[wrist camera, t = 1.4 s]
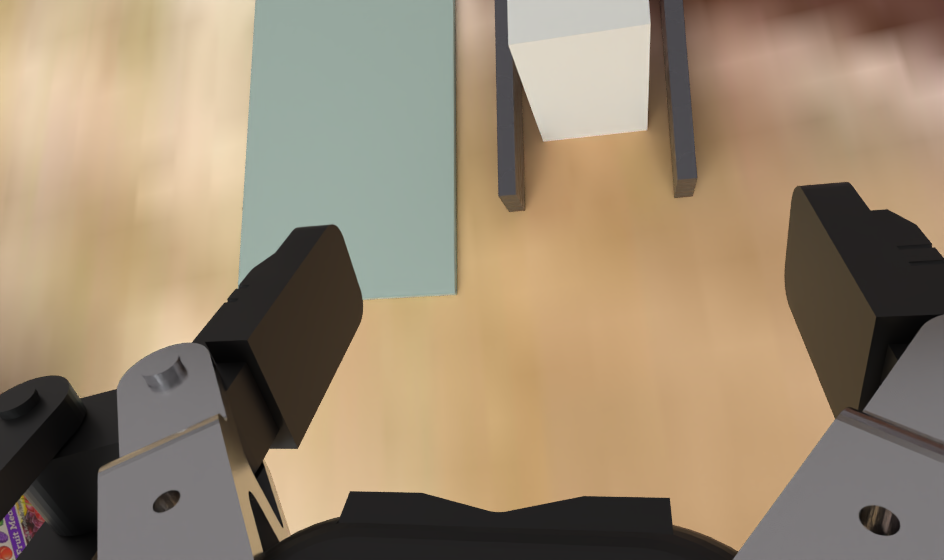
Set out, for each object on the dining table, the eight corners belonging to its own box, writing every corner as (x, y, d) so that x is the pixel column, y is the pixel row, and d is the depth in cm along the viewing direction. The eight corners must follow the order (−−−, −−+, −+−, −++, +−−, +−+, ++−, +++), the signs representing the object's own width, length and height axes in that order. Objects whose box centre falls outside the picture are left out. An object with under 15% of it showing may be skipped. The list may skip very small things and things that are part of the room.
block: (641, 35, 32) (641, -102, 23) (647, 130, 31) (650, 23, 22) (540, 49, 33) (505, -76, 24) (543, 141, 32) (508, 44, 23)
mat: (454, -63, 35) (452, -69, 35) (456, 294, 32) (454, 293, 31) (261, -26, 38) (257, -30, 38) (241, 306, 34) (236, 305, 34)
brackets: (674, -35, 32) (676, -71, 30) (692, 196, 30) (697, 178, 27) (504, -6, 34) (494, -37, 32) (509, 211, 32) (498, 196, 29)
